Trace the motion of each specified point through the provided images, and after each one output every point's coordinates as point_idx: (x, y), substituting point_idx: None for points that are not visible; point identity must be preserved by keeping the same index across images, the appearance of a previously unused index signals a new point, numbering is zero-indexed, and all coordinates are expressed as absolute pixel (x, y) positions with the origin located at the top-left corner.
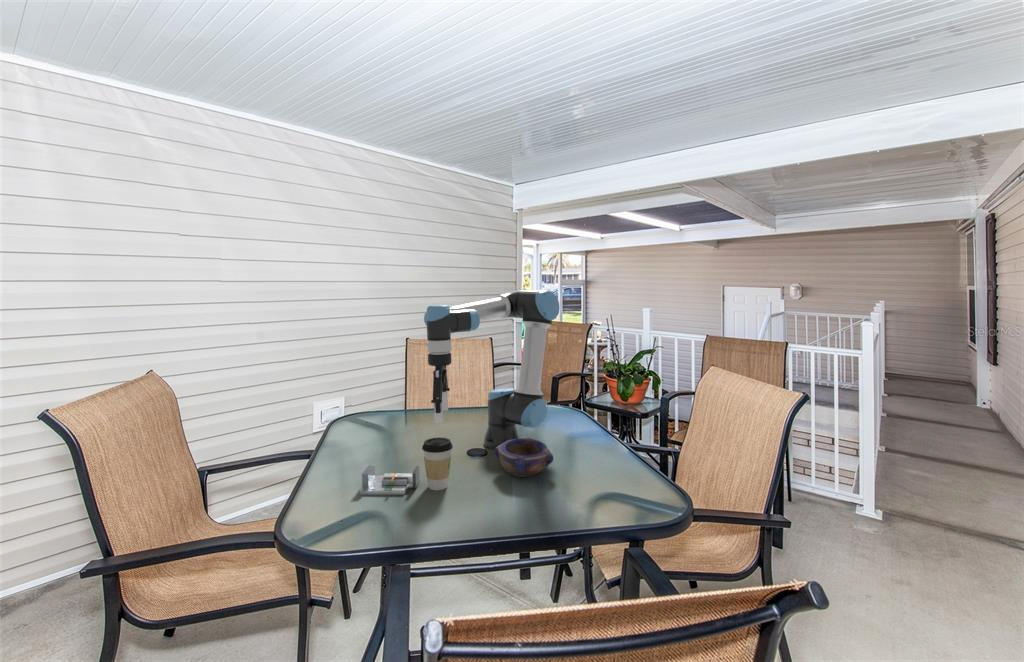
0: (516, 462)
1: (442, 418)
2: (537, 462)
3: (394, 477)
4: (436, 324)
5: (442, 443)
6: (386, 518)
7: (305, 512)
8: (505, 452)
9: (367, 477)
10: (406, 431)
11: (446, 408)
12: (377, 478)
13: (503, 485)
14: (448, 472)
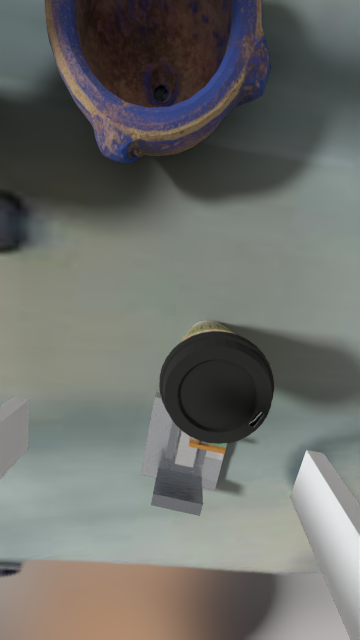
0: (257, 86)
1: (341, 482)
2: None
3: (212, 447)
4: None
5: (231, 377)
6: (330, 438)
7: (264, 552)
8: (196, 112)
9: (201, 498)
10: None
11: (16, 419)
12: (158, 463)
13: (239, 176)
14: (224, 326)
